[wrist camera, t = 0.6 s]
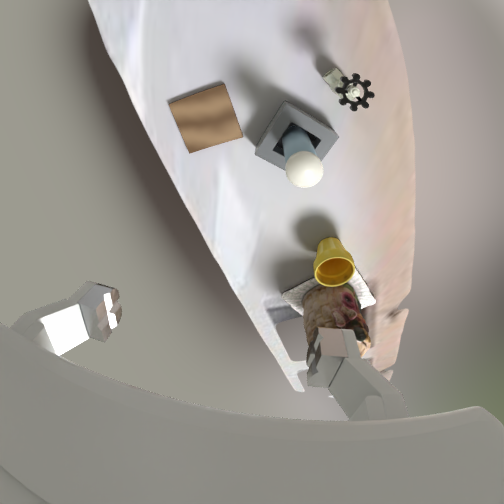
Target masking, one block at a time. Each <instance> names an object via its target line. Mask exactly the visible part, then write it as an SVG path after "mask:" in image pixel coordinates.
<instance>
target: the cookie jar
mask: <svg viewBox="0 0 504 504" xmlns="http://www.w3.org/2000/svg"><path fill="white" fill-rule="evenodd" d="M281 297H282V298H283V300H285V301H286V302H287V303H288V304H290V305H291V307H292V308H294V309H295V310H296V311H298V312H299V313H300V314H301V315H303V318H304V328H305V332H306V336H307V342H308V346H309V344H310V342H311V341H312V340H313V333H314V330H315V328H316V326H317V327H325V328H335V329H350V330H353V331H354V333H355V337H356V340H357V344H358V347H359V351H360V355H361V357H362V356H363V355H364V354H365V352H366V351H367V350H368V349H369V348H370V345H371V340H370V337H369V335H368V332H369V329H368V326H367V325H366V323H365V320H364V319H363V317H362V315H361V314H360V311H361V309H362V308H364V307H366V306H369V305H373V304H375V303H376V301H375V298H374V297H373V296H372V294H371V293H370V291H369V288H368V286H367V285H366V283H365V282H364V280H363V278H362V277H361V275H360V274H359V273H358V271H357V270H356V268H355V273H354V275H353V277H352V278H351V279H350V280H349V281H348V282H346V283H344V284H342V285H339V286H334V287H329V286H324V285H322V284H320V283H319V282H318V281H317V280H316V279H315V278H313V279H311V280H309V281H306V282H304V283H303V284H301V285H299V286H297V287H295V288H293V289H291V290H289V291H286V292H283V295H282V296H281Z"/></svg>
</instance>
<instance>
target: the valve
mask: <svg viewBox="0 0 504 504" xmlns="http://www.w3.org/2000/svg"><path fill="white" fill-rule="evenodd" d="M352 76H353V79H351V80H349V79H348V78H347V77H345V76H343V75H342V73H341V72H340V71H339V70H338V69H337V68H333V69H332V70H330V71H329V72H327V73H326V74H325V75H324V76H323V79H324V80H325V81H326V82H327V83H328V84H329V85H330V88H331V90H332V91H333V92H334V93H335V94H337V95H339V96H340V98H341V99H339V103H340V104H341V105H346V103H350V104H351V106H350V109H351V110H352V111H357V109H358V108H357V106H358V105H362V107H364V108H368V107H369V104H368V103H367V102H366V100H367V98H368V97H369V98H374V96H375V95H374V93H373V92H371V91H370V92H369V91H368V89H367V87H369V86H370V85H371V82H370V81H369V80H364V82H361V81H360V80H359V79H360V75H359V74H356V73H353V74H352ZM352 83H353V85H352ZM357 84H360V85H361V86H362V87H363V89H364V96H363V98H362V99H361V98H360V97H359V95H360V91H359V89H358V88H357V87H356V85H357ZM355 98H357V99H358V100H359V101H356V102H354V101H352V100H353V99H355Z"/></svg>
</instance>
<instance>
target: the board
mask: <svg viewBox="0 0 504 504" xmlns="http://www.w3.org/2000/svg"><path fill="white" fill-rule="evenodd" d="M169 106H170V109H171V111H172V114H173V116H174V118H175V121H176V123H177V125H178V128H179V130H180V132H181V135H182V137H183V140H184V142H185V144H186V147H187V149H188V151H189V154H190V153H193V152H196V151H199V150H202V149H205V148H208V147H211V146H215V145H218V144H221V143H224V142H228V141H231V140H235V139H238V138H242V137H243V134H242V131H241V129H240V126H239V123H238V120H237V117H236V114H235V111H234V108H233V106H232V103H231V100H230V97H229V94H228V92H227V89H226V86H225V84H222V85H219V86H216V87H213V88H210V89H207V90H204V91H202V92H199V93H196V94H193V95H191V96H188V97H185V98H183V99H180V100H178V101H175V102H173V103H171V104H169Z"/></svg>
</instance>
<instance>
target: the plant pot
mask: <svg viewBox="0 0 504 504" xmlns="http://www.w3.org/2000/svg"><path fill="white" fill-rule="evenodd" d="M313 268H314V276H315V279H316V280H317V281H318V282H319V283H320V284H322V285H324V286H329V287H334V286H339V285H342V284H344V283H346V282H348V281H349V280H350V279H351V278H352V277H353V275H354V273H355V265H354V261H353V258H352V256H351V254H350V253H349V252H347V251H346V250H345V248H344V247H343V245H342V243H341V242H340V241H339V240H338V239H337V238H333V237H329V238H325V239H323V240H322V241H321V242H320V243H319V244H318V248H317V256H316V259H315V261H314V265H313Z"/></svg>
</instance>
